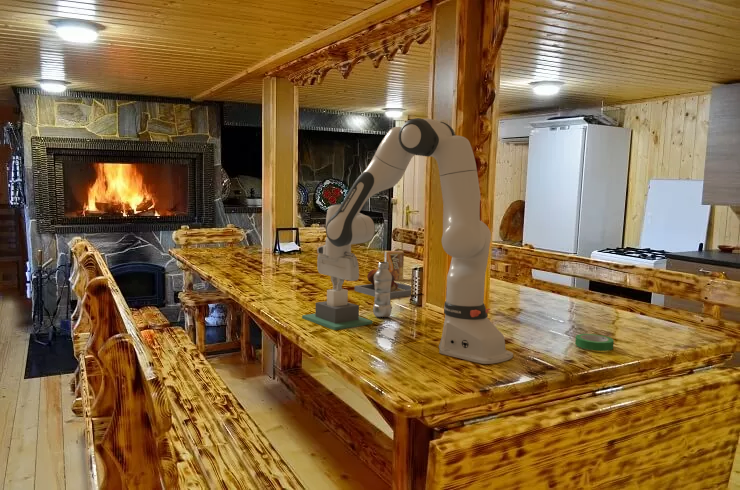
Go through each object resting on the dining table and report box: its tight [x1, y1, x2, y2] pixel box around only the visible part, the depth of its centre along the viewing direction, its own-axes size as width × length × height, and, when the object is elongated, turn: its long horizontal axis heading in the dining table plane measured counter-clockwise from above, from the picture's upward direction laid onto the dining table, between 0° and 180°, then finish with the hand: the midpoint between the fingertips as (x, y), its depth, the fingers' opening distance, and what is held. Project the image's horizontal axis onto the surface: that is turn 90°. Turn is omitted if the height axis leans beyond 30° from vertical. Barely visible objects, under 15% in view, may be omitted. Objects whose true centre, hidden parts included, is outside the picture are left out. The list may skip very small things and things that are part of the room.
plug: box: [326, 288, 349, 307], centre depth 203 cm, size 4×6×9 cm, turn 129°
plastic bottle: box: [372, 261, 392, 319], centre depth 210 cm, size 6×7×20 cm
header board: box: [301, 300, 374, 331], centre depth 203 cm, size 20×16×6 cm
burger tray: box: [354, 281, 412, 300], centre depth 255 cm, size 20×22×3 cm
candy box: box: [384, 250, 405, 281], centre depth 285 cm, size 9×4×15 cm, turn 103°
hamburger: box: [366, 268, 399, 292], centre depth 260 cm, size 16×13×10 cm
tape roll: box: [575, 333, 615, 352], centre depth 181 cm, size 11×11×3 cm
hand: (337, 289), depth 202 cm, fingers closed, pressing on plug
